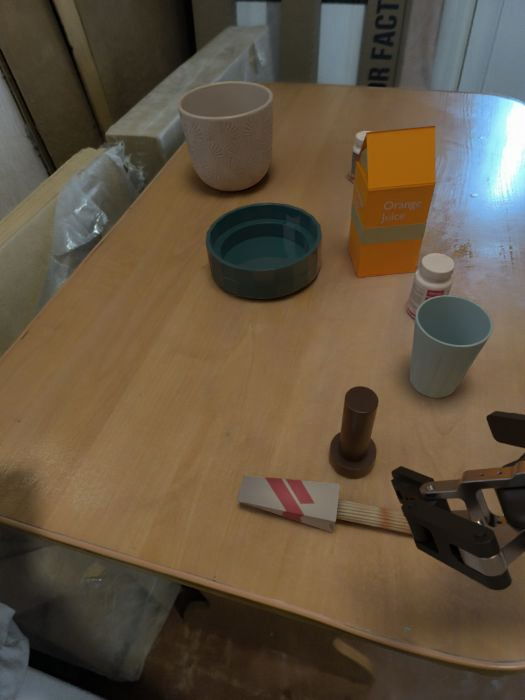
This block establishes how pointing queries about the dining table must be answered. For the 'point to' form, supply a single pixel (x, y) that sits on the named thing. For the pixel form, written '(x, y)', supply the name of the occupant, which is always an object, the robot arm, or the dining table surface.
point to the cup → (446, 343)
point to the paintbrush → (315, 503)
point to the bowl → (264, 250)
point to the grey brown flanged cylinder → (355, 434)
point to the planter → (228, 132)
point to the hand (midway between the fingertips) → (447, 452)
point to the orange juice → (391, 200)
